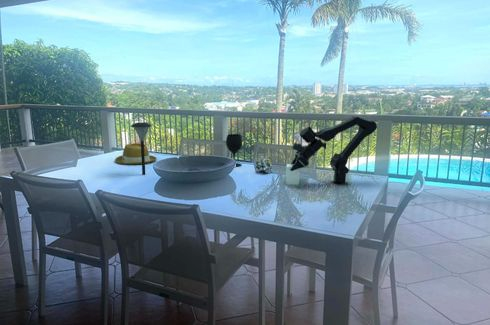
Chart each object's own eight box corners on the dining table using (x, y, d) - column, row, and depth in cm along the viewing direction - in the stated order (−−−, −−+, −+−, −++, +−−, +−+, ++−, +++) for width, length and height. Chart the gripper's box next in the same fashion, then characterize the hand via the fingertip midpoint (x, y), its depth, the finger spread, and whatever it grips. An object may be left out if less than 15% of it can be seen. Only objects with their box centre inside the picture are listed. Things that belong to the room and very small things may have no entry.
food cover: (298, 181, 200) (298, 163, 198) (298, 184, 194) (299, 165, 192) (285, 181, 201) (286, 162, 199) (286, 184, 195) (287, 165, 192)
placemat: (302, 187, 189) (302, 187, 189) (275, 185, 194) (275, 184, 194) (309, 178, 210) (309, 177, 209) (285, 175, 214) (285, 175, 214)
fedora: (145, 156, 270) (145, 140, 268) (163, 162, 248) (163, 145, 246) (109, 160, 254) (108, 143, 251) (125, 167, 232) (124, 149, 229)
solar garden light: (157, 172, 219) (155, 122, 213) (150, 177, 207) (148, 124, 201) (137, 171, 220) (135, 121, 214) (129, 176, 208) (126, 123, 202)
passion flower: (268, 182, 220) (267, 169, 212) (251, 177, 224) (250, 164, 215) (275, 169, 227) (275, 156, 218) (259, 164, 231) (258, 151, 222)
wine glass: (235, 167, 234) (235, 136, 230) (222, 165, 240) (222, 135, 236) (245, 165, 242) (245, 134, 238) (232, 163, 248) (232, 133, 244)
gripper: (300, 135, 201) (279, 154, 204) (303, 140, 183) (280, 161, 186) (314, 149, 202) (293, 168, 205) (318, 156, 184) (295, 176, 187)
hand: (290, 168), depth 196 cm, fingers open, 9 cm apart
